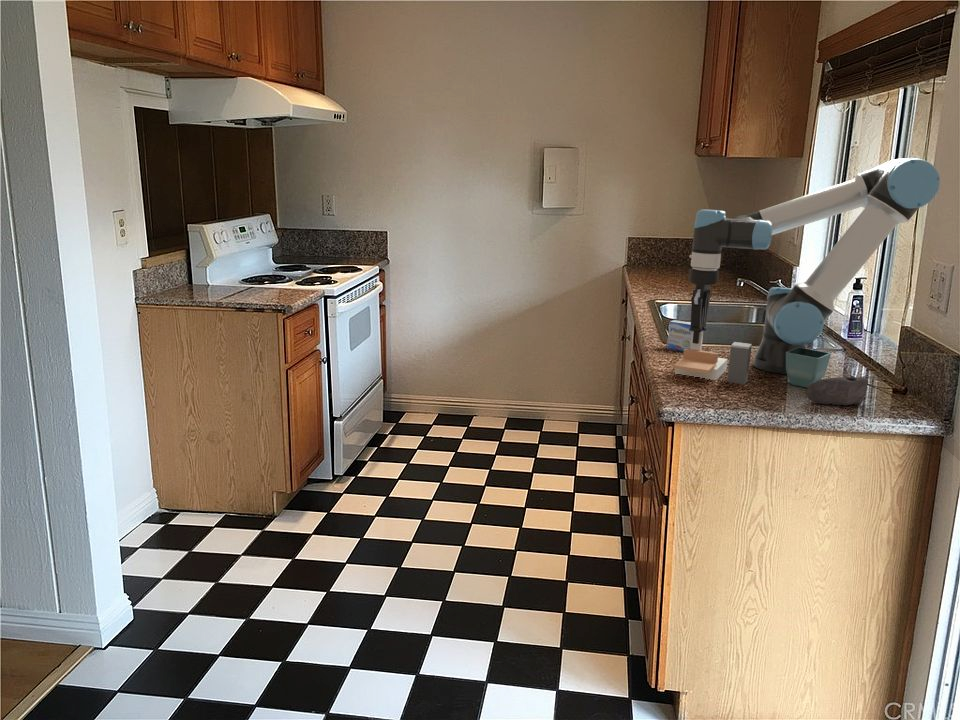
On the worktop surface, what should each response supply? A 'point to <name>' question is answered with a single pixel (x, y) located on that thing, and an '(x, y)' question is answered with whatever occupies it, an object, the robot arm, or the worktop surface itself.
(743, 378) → the plug
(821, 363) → the flower pot
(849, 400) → the perforated stone tool
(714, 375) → the socket housing
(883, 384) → the worktop surface
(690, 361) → the shutter
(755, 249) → the robot arm
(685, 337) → the medicine box
